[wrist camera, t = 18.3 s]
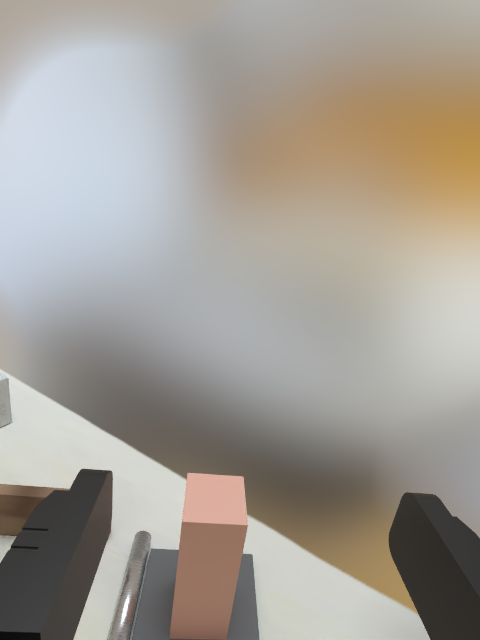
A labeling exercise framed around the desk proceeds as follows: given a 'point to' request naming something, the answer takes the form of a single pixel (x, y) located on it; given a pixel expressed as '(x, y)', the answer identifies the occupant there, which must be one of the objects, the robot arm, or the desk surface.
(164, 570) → the mat
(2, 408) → the product box
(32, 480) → the desk surface
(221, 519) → the tall pink rectangular block
